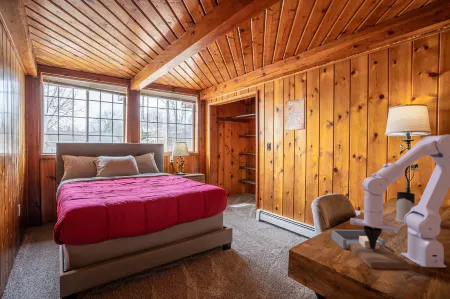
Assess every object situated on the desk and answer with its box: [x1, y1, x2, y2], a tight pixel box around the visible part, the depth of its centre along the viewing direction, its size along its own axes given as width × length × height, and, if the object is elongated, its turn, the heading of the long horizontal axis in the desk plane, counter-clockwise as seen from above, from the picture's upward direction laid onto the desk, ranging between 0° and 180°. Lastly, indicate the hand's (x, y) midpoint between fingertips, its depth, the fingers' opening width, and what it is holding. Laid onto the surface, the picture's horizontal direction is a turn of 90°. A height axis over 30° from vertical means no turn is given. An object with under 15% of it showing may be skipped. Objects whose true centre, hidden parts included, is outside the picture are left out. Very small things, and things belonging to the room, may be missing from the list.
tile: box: [359, 236, 379, 249], centre depth 87 cm, size 5×5×2 cm
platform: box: [348, 244, 409, 269], centre depth 82 cm, size 14×12×2 cm
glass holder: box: [394, 191, 416, 224], centre depth 125 cm, size 9×14×15 cm, turn 132°
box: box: [330, 229, 386, 250], centre depth 94 cm, size 11×16×4 cm
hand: (372, 247), depth 83 cm, fingers closed
